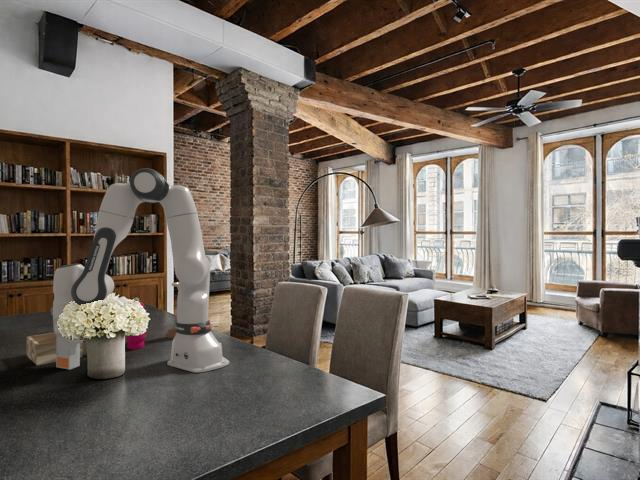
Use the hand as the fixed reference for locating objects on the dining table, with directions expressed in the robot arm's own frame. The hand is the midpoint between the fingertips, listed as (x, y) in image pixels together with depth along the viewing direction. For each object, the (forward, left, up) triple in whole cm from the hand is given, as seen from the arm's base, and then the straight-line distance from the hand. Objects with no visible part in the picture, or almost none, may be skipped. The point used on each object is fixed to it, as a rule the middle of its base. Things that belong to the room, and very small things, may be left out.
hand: (68, 351), depth 137 cm
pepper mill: (+8, -26, -5) cm, 28 cm away
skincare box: (0, 0, -5) cm, 5 cm away
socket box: (+17, 0, -5) cm, 18 cm away
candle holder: (+11, -48, -5) cm, 50 cm away
